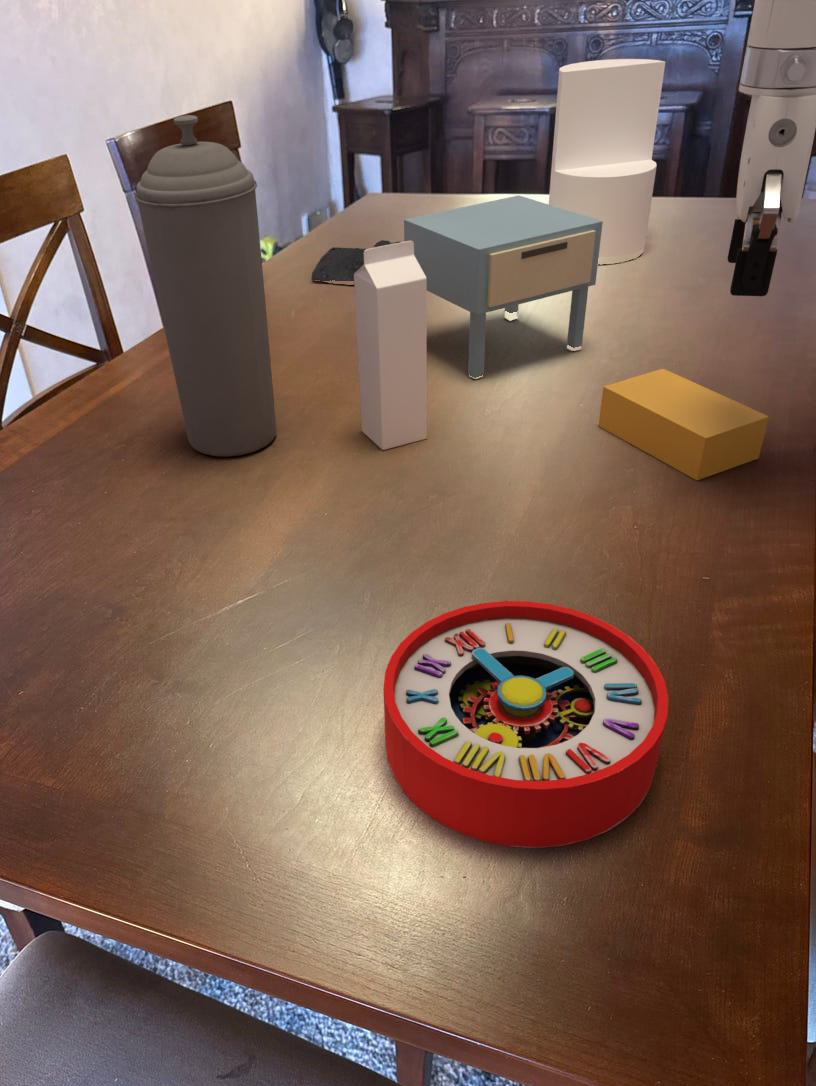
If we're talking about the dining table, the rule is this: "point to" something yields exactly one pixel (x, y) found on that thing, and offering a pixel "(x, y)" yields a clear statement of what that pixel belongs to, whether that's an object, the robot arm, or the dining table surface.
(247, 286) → the canister
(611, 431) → the yellow rectangular block
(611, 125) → the cylinder
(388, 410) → the milk
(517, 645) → the toy clock
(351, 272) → the dark slate chunk
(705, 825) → the dining table surface
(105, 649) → the dining table surface
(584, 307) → the drawer unit
